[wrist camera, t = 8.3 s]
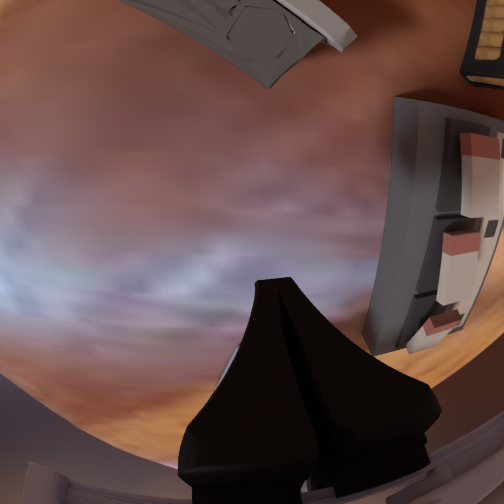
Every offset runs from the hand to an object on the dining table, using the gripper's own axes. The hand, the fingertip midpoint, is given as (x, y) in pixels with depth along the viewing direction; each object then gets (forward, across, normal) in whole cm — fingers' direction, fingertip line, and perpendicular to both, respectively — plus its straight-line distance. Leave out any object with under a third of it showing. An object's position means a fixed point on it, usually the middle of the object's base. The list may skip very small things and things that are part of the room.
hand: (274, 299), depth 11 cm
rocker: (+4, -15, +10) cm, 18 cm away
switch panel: (+9, -16, +3) cm, 19 cm away
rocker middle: (+4, -14, +4) cm, 16 cm away
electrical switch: (+10, 0, -12) cm, 16 cm away
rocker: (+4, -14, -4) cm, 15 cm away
